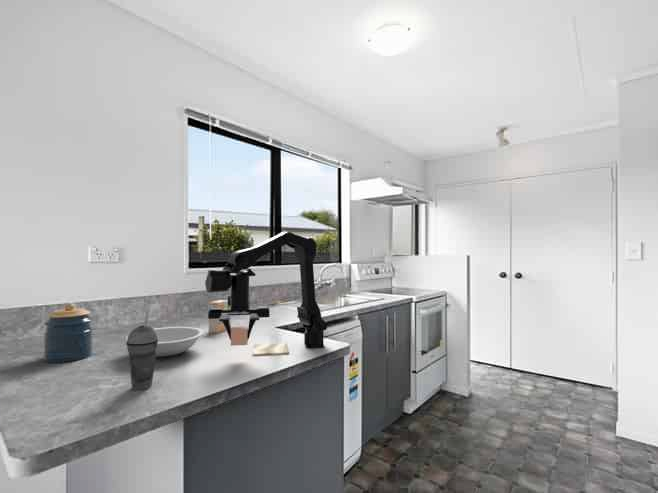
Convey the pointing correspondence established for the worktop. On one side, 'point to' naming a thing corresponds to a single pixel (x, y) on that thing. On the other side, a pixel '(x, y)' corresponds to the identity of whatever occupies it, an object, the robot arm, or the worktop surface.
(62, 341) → the canister
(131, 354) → the beverage cup
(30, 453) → the worktop surface
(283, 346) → the birch board
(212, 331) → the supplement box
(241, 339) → the coral cube
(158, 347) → the soup bowl
